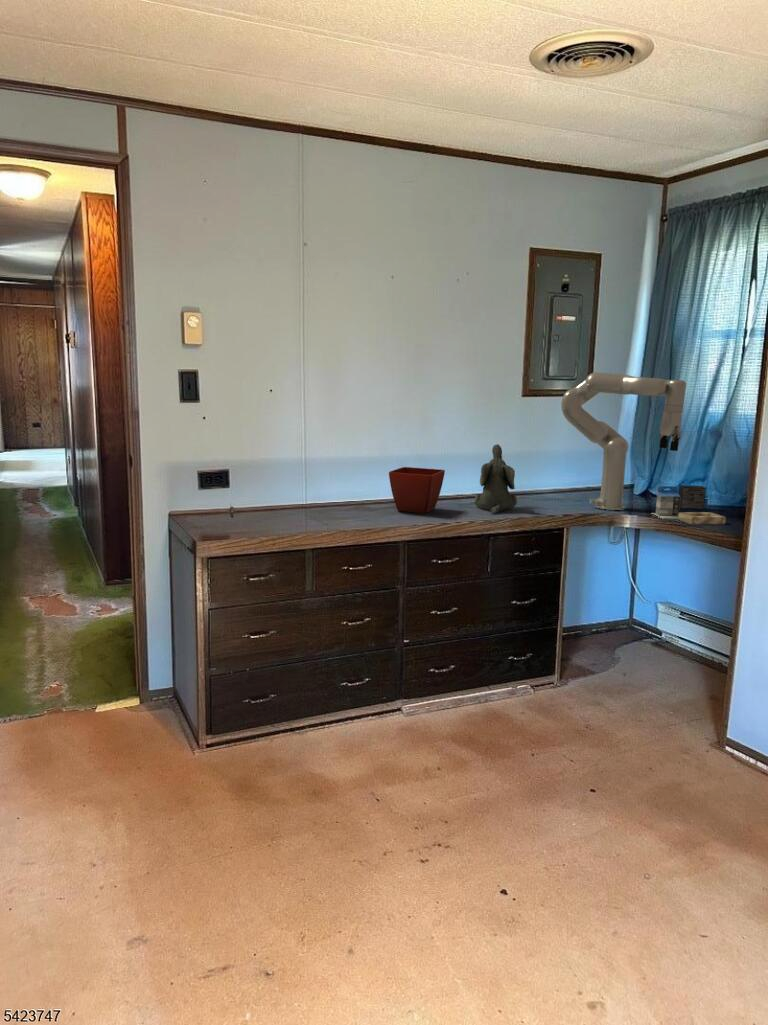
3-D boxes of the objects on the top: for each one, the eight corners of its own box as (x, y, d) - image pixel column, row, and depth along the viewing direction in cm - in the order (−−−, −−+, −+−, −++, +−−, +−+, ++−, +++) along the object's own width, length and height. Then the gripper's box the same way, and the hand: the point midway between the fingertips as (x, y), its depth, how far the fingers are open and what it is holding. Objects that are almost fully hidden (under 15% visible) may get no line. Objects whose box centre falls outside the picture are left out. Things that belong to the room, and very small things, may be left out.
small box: (700, 507, 350) (702, 485, 348) (704, 510, 343) (707, 487, 341) (676, 506, 351) (678, 484, 349) (680, 509, 344) (682, 486, 342)
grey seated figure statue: (493, 503, 345) (497, 443, 340) (526, 511, 328) (530, 448, 323) (461, 506, 334) (464, 444, 329) (493, 514, 317) (497, 450, 312)
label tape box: (659, 515, 323) (662, 487, 321) (654, 514, 327) (657, 485, 325) (678, 516, 324) (682, 487, 321) (674, 514, 328) (677, 486, 325)
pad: (662, 519, 319) (662, 517, 319) (650, 514, 329) (651, 513, 329) (684, 518, 321) (684, 517, 321) (672, 514, 331) (672, 513, 330)
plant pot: (386, 511, 316) (387, 471, 313) (402, 504, 334) (403, 466, 331) (430, 516, 310) (431, 475, 306) (443, 508, 327) (445, 469, 324)
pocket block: (691, 524, 310) (692, 517, 309) (678, 519, 319) (679, 512, 319) (725, 524, 312) (725, 517, 312) (711, 519, 322) (711, 512, 321)
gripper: (656, 407, 332) (651, 446, 335) (674, 410, 315) (669, 451, 319) (672, 408, 333) (667, 447, 336) (691, 411, 316) (686, 452, 319)
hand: (668, 449), depth 327 cm, fingers open, 9 cm apart
